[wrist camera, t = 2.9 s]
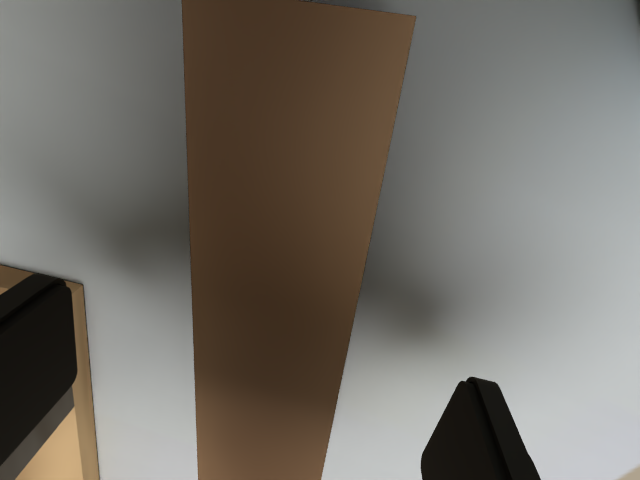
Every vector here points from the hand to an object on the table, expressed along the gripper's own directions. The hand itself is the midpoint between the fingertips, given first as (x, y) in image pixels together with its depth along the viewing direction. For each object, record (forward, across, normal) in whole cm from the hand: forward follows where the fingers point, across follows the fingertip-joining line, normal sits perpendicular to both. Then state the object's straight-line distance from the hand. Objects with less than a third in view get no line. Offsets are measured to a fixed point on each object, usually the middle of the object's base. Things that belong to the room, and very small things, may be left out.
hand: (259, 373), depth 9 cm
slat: (+4, 0, -1) cm, 4 cm away
